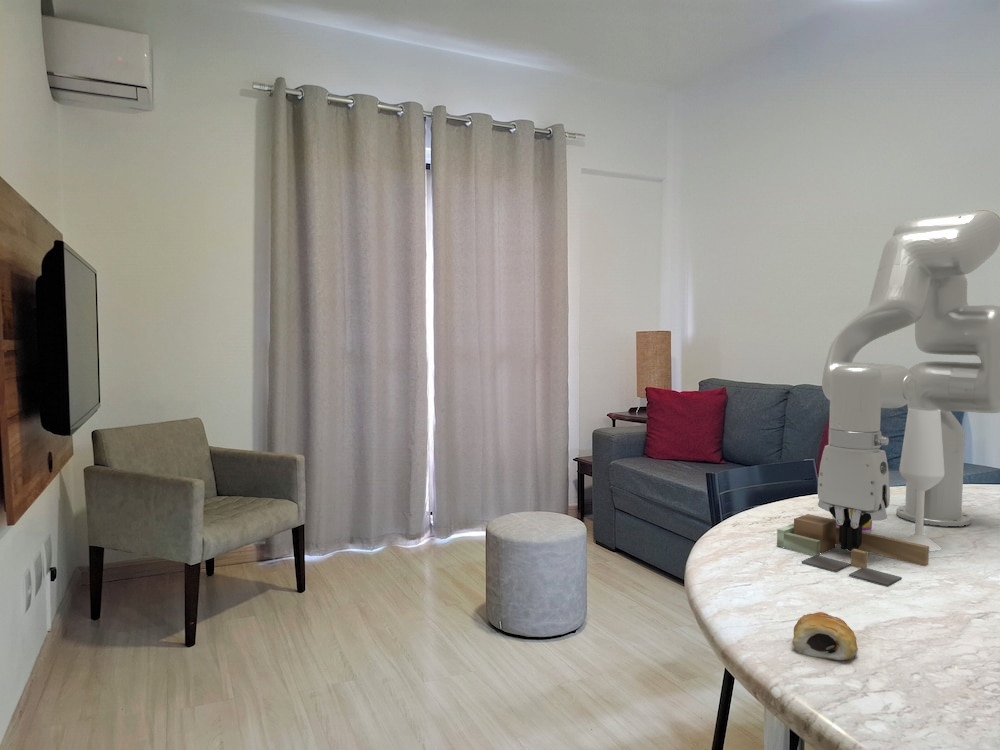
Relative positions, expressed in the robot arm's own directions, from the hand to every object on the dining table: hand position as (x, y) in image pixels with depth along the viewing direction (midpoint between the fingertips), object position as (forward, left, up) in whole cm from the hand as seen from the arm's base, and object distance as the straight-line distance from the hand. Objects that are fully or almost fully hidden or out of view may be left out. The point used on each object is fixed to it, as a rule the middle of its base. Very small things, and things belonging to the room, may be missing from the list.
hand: (849, 548), depth 112 cm
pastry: (+36, +13, -2) cm, 38 cm away
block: (0, -6, -1) cm, 6 cm away
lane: (+2, 0, -1) cm, 3 cm away
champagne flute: (-15, +5, -1) cm, 16 cm away
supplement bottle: (-14, -6, -1) cm, 15 cm away
